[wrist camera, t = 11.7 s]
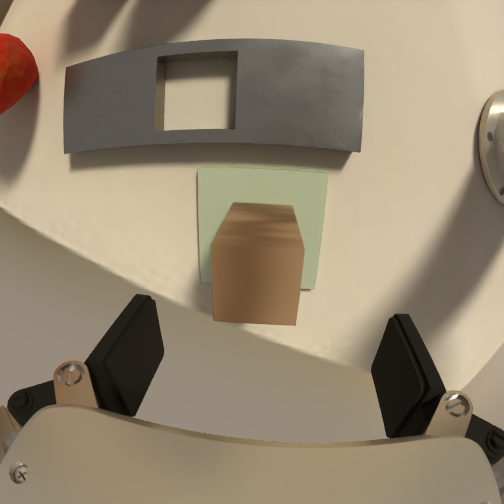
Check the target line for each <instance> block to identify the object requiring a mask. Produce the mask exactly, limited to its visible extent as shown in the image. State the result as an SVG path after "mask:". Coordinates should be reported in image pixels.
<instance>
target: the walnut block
mask: <svg viewBox="0 0 504 504" xmlns="http://www.w3.org/2000/svg"><path fill="white" fill-rule="evenodd" d="M304 254H305V248H304V244H303V241H302V237H301V233H300V230H299V226H298V223H297V219H296V216H295V212H294V209H293V206H292V205H282V204H263V203H240V202H233V203H232V205H231V207H230V209H229V211H228V213H227V215H226V216H225V218H224V220H223V222H222V224H221V226H220V228H219V230H218V232H217V234H216V236H215V237H214V239H213V241H212V243H211V270H212V297H213V318H214V321H223V322H237V323H252V324H270V325H294V326H296V319H297V311H298V304H299V296H300V288H301V280H302V271H303V263H304Z"/></svg>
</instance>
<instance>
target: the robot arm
mask: <svg viewBox="0 0 504 504" xmlns="http://www.w3.org/2000/svg"><path fill="white" fill-rule="evenodd" d="M479 153H480V161H481V165H482V170H483V174H484V177H485V179H486V182H487V185H488V187H489V189H490V190H491V192H492V194H493V195H494V196H495V198H496V199H497V200H498V201H499V202H500V203H502V204H503V205H504V90H501V91H498V92H496V93H495V94H494V95H493V96H491V97H490V99H489V100H488V102H487V103H486V105H485V108H484V110H483V113H482V117H481V122H480V129H479ZM163 355H164V347H163V341H162V336H161V331H160V326H159V320H158V315H157V309H156V303H155V300H152V298H151V297H150V296H149V295H141V294H136V295H135V296H134V297H133V299H132V300H131V301H130V303H129V304H128V305H127V306H126V308H125V309H124V310H123V312H122V313H121V314H120V316H119V317H118V318H117V319H116V320H115V322H114V323H113V324H112V326H111V327H110V328H109V330H108V331H107V332H106V334H105V335H104V336H103V338H102V339H101V341H100V342H99V343H98V344H97V346H96V347H95V349H94V350H93V351H92V353H91V354H90V355H89V357H88V358H87V360H86V361H85V362H84V363H82V362H80V361H68V362H65V363H63V364H61V365H60V366H59V367H58V368H57V369H56V370H55V372H54V380H52V381H48V382H45V383H42V384H38V385H35V386H32V387H28V388H25V389H21V390H18V391H16V392H15V393H13V394H12V396H11V397H10V398H9V400H8V405H7V407H6V408H5V407H4V406H1V407H0V504H504V431H503V430H502V429H500V428H498V427H496V426H494V425H492V424H490V423H489V422H487V421H485V420H483V419H481V418H479V417H477V416H476V415H474V414H472V412H473V405H472V402H471V400H470V398H469V397H468V396H467V395H466V394H464V393H462V392H460V391H454V390H452V391H448V392H446V389H445V386H444V384H443V382H442V380H441V377H440V375H439V373H438V371H437V369H436V367H435V365H434V362H433V360H432V358H431V356H430V354H429V352H428V350H427V348H426V346H425V344H424V342H423V340H422V338H421V336H420V334H419V333H418V331H417V329H416V327H415V325H414V323H413V321H412V319H411V318H410V316H409V315H408V314H394V316H393V317H391V318H390V319H389V321H388V323H387V326H386V329H385V332H384V335H383V338H382V340H381V343H380V346H379V348H378V351H377V354H376V356H375V359H374V361H373V364H372V367H371V373H372V377H373V380H374V385H375V388H376V393H377V397H378V401H379V405H380V409H381V413H382V418H383V422H384V427H385V431H386V436H387V437H388V438H390V439H380V440H368V441H353V442H322V443H319V442H316V443H314V442H311V443H310V442H279V441H264V440H252V439H243V438H234V437H226V436H219V435H212V434H206V433H200V432H194V431H189V430H184V429H179V428H174V427H169V426H165V425H160V424H156V423H152V422H148V421H144V420H140V419H136V418H132V417H134V416H135V415H136V413H137V411H138V409H139V407H140V404H141V402H142V400H143V398H144V396H145V394H146V392H147V390H148V387H149V385H150V383H151V381H152V379H153V377H154V374H155V373H156V371H157V368H158V366H159V364H160V362H161V360H162V358H163ZM131 416H132V417H131Z"/></svg>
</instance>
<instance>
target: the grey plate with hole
mask: <svg viewBox="0 0 504 504" xmlns="http://www.w3.org/2000/svg"><path fill="white" fill-rule="evenodd" d="M231 57H238V63H237V88H236V117H235V129H194V130H170V131H164V100H165V76H166V62H171V61H180V60H191V59H206V58H231ZM363 98H364V50H359V49H354V48H348V47H342V46H336V45H329V44H322V43H314V42H304V41H293V40H278V39H215V40H200V41H189V42H179V43H171V44H164V45H157V46H151V47H145V48H139V49H134V50H129V51H125V52H120V53H116V54H111V55H107V56H103V57H99V58H96V59H92V60H89V61H85V62H82V63H79V64H75V65H72V66H69V67H66V75H65V89H64V118H63V131H64V154H67V153H74V152H81V151H89V150H97V149H106V148H116V147H127V146H140V145H155V144H176V143H255V144H276V145H292V146H305V147H316V148H327V149H336V150H344V151H352V152H360V151H361V138H362V122H363Z"/></svg>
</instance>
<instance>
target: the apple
mask: <svg viewBox="0 0 504 504" xmlns="http://www.w3.org/2000/svg"><path fill="white" fill-rule="evenodd" d="M37 75H38V67H37V65H36V62H35V59H34V57H33V55H32V53H31V51H30V50H29V49H28V48H27V47H26V46H25V44H24V43H23V42H22V41H21V40H20V39H19V38H17V37H15V36H12V35H10V34H2V33H0V114H2V113H3V112H5V111H6V110H7V109H9V108H10V107H11V106H13V105H14V104H15V103H16V102H17V101H18V100H19V99H20V98H21V97H22V96H23V95H24V94H25V93H27V92H28V91H29V90H30V88H31V87H32V86H33V84H34V82H35V81H36V78H37Z"/></svg>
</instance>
